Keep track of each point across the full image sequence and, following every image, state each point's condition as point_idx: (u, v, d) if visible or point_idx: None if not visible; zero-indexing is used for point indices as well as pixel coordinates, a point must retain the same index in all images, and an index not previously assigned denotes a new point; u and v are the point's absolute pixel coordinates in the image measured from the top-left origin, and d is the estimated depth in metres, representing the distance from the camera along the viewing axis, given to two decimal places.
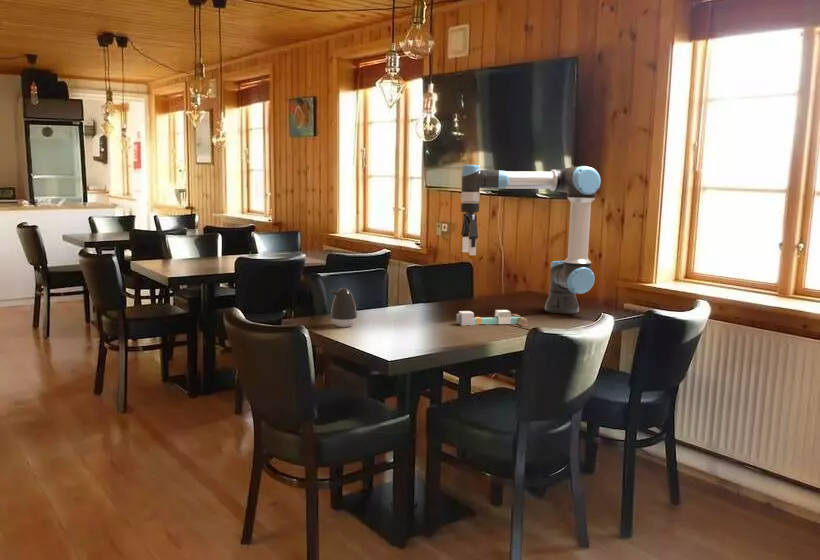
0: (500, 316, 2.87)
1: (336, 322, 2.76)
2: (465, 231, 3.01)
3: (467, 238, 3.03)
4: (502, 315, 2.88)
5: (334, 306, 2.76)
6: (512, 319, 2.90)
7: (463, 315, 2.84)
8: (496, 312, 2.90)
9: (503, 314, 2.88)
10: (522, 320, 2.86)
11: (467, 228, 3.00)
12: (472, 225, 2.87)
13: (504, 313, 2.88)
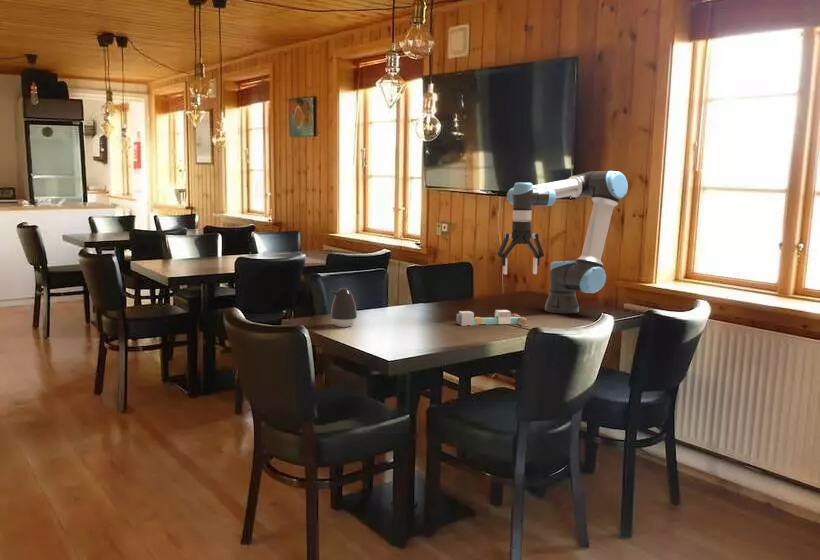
0: (500, 316, 2.87)
1: (336, 322, 2.76)
2: (532, 251, 2.90)
3: (535, 259, 2.89)
4: (502, 315, 2.88)
5: (334, 306, 2.76)
6: (512, 319, 2.90)
7: (463, 315, 2.84)
8: (496, 312, 2.90)
9: (503, 314, 2.88)
10: (522, 320, 2.86)
11: (530, 248, 2.89)
12: (502, 243, 2.87)
13: (504, 313, 2.88)
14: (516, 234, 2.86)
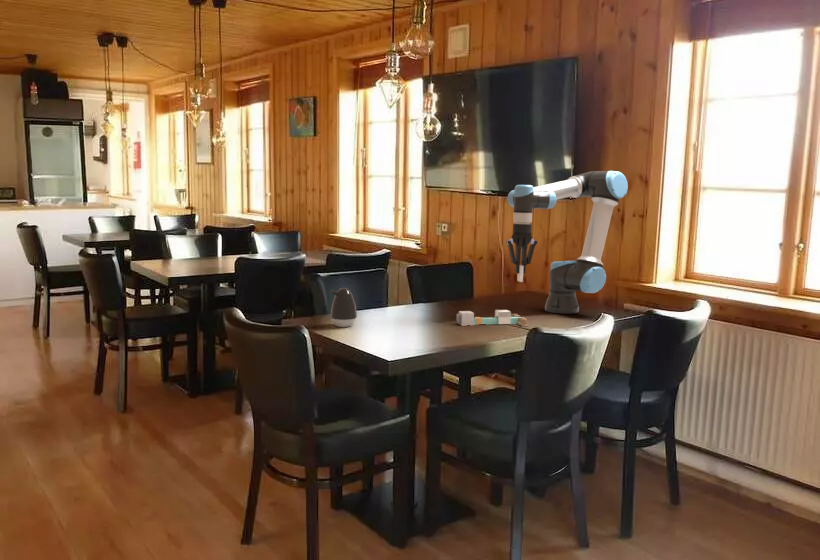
0: (500, 316, 2.87)
1: (336, 322, 2.76)
2: (522, 256, 2.89)
3: None
4: (502, 315, 2.88)
5: (334, 306, 2.76)
6: (512, 319, 2.90)
7: (463, 315, 2.84)
8: (496, 312, 2.90)
9: (503, 314, 2.88)
10: (522, 320, 2.86)
11: (522, 253, 2.89)
12: (509, 251, 2.88)
13: (504, 313, 2.88)
14: (516, 236, 2.86)
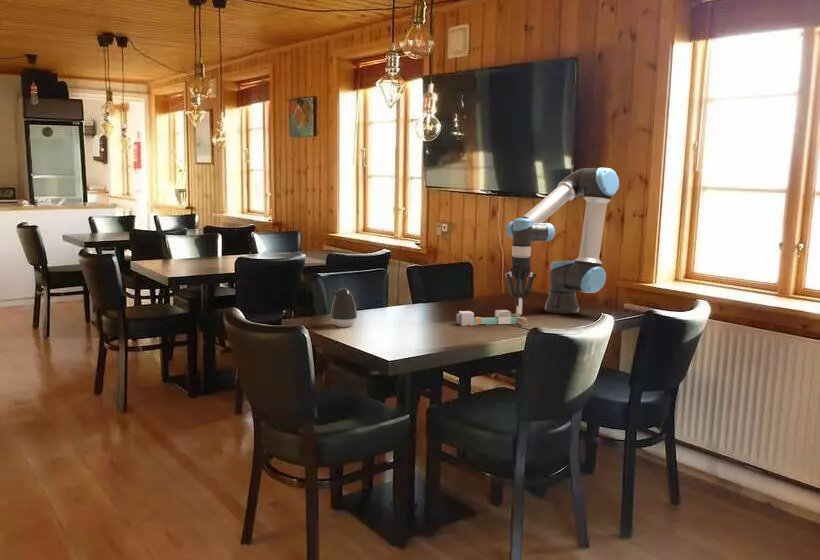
0: (500, 316, 2.87)
1: (336, 322, 2.76)
2: (521, 289, 2.91)
3: None
4: (502, 315, 2.88)
5: (334, 306, 2.76)
6: (512, 319, 2.90)
7: (463, 315, 2.84)
8: (496, 312, 2.90)
9: (503, 314, 2.88)
10: (522, 320, 2.86)
11: (521, 285, 2.90)
12: (508, 284, 2.90)
13: (504, 313, 2.88)
14: (515, 269, 2.88)
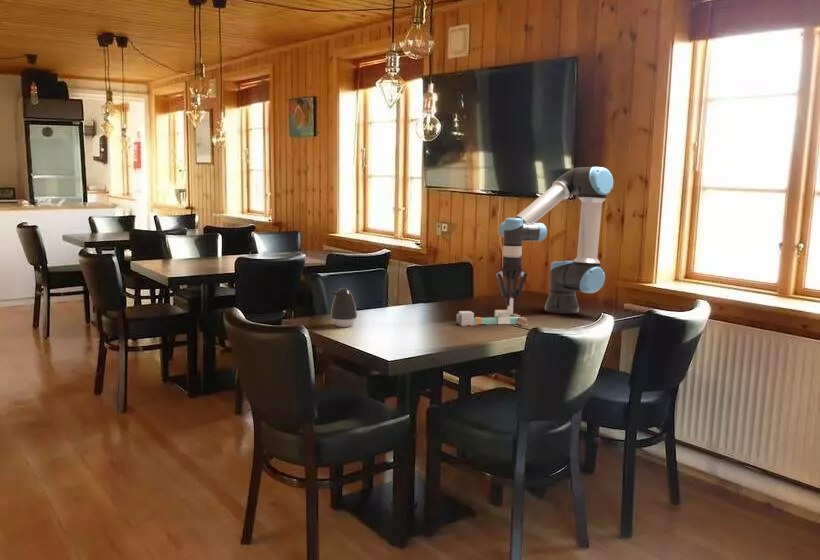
0: (500, 316, 2.87)
1: (336, 322, 2.76)
2: (512, 289, 2.90)
3: None
4: (502, 315, 2.88)
5: (334, 306, 2.76)
6: (512, 319, 2.90)
7: (463, 315, 2.84)
8: (496, 312, 2.90)
9: (503, 314, 2.88)
10: (522, 320, 2.86)
11: (512, 285, 2.90)
12: (499, 284, 2.89)
13: (504, 313, 2.88)
14: (506, 269, 2.87)
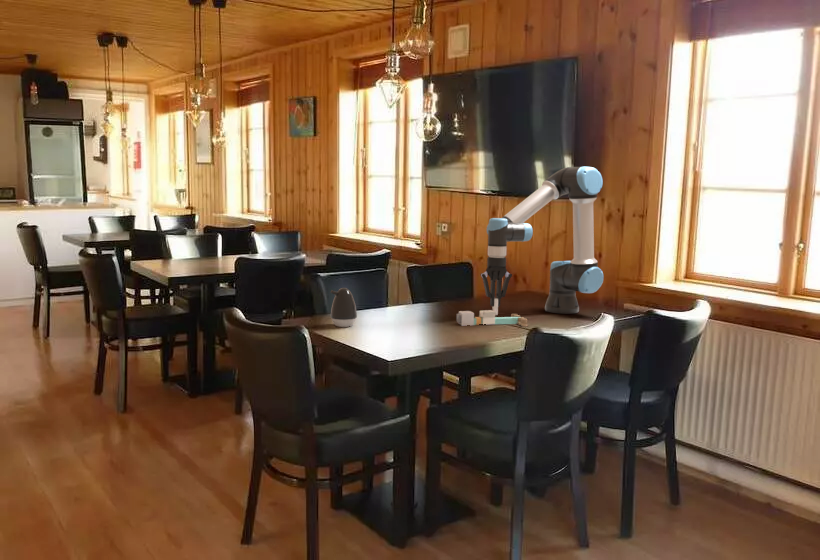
0: (484, 316, 2.86)
1: (336, 322, 2.76)
2: (496, 289, 2.89)
3: None
4: (486, 315, 2.86)
5: (334, 306, 2.76)
6: (512, 319, 2.90)
7: (463, 315, 2.84)
8: (480, 312, 2.89)
9: (487, 314, 2.86)
10: (522, 320, 2.86)
11: (497, 286, 2.88)
12: (484, 284, 2.88)
13: (488, 313, 2.86)
14: (490, 269, 2.86)
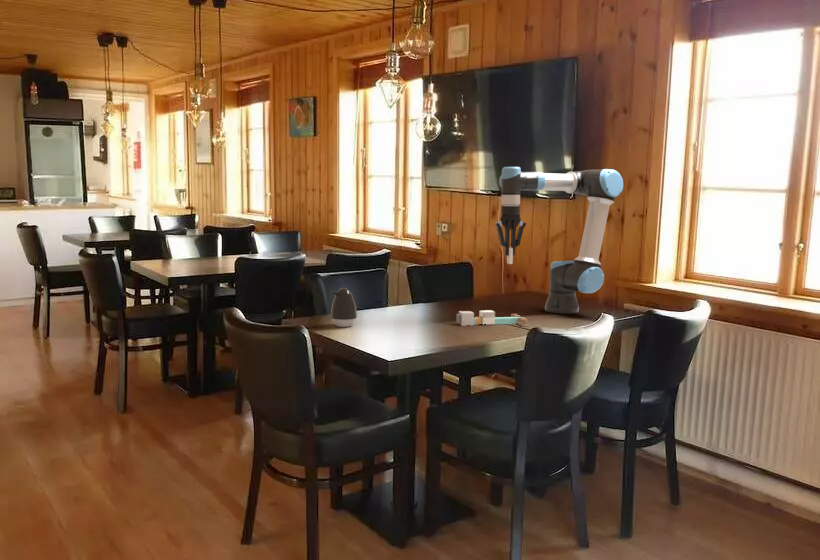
0: (484, 316, 2.86)
1: (336, 322, 2.76)
2: (511, 239, 2.89)
3: None
4: (486, 315, 2.86)
5: (334, 306, 2.76)
6: (512, 319, 2.90)
7: (463, 315, 2.84)
8: (480, 312, 2.89)
9: (487, 314, 2.86)
10: (522, 320, 2.86)
11: (511, 235, 2.89)
12: (498, 234, 2.88)
13: (488, 313, 2.86)
14: (504, 218, 2.86)
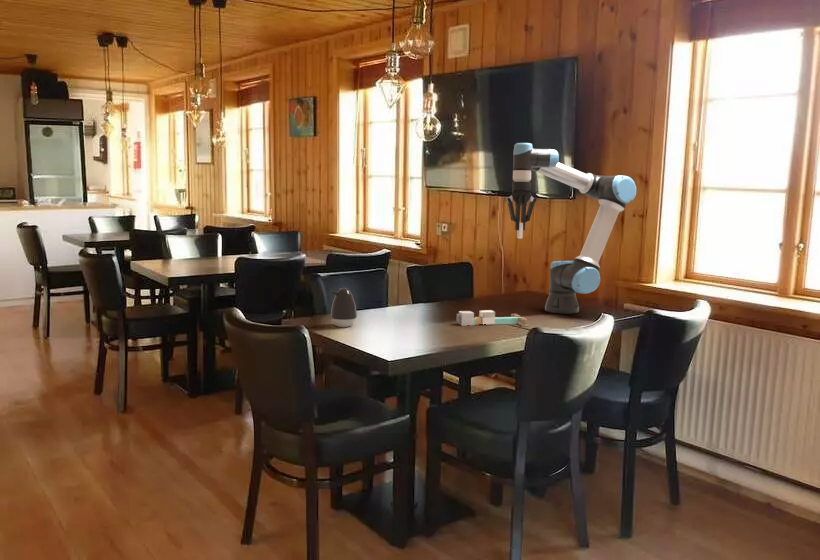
0: (484, 316, 2.86)
1: (336, 322, 2.76)
2: (521, 214, 2.95)
3: None
4: (486, 315, 2.86)
5: (334, 306, 2.76)
6: (512, 319, 2.90)
7: (463, 315, 2.84)
8: (480, 312, 2.89)
9: (487, 314, 2.86)
10: (522, 320, 2.86)
11: (522, 210, 2.95)
12: (509, 208, 2.94)
13: (488, 313, 2.86)
14: (515, 193, 2.92)
